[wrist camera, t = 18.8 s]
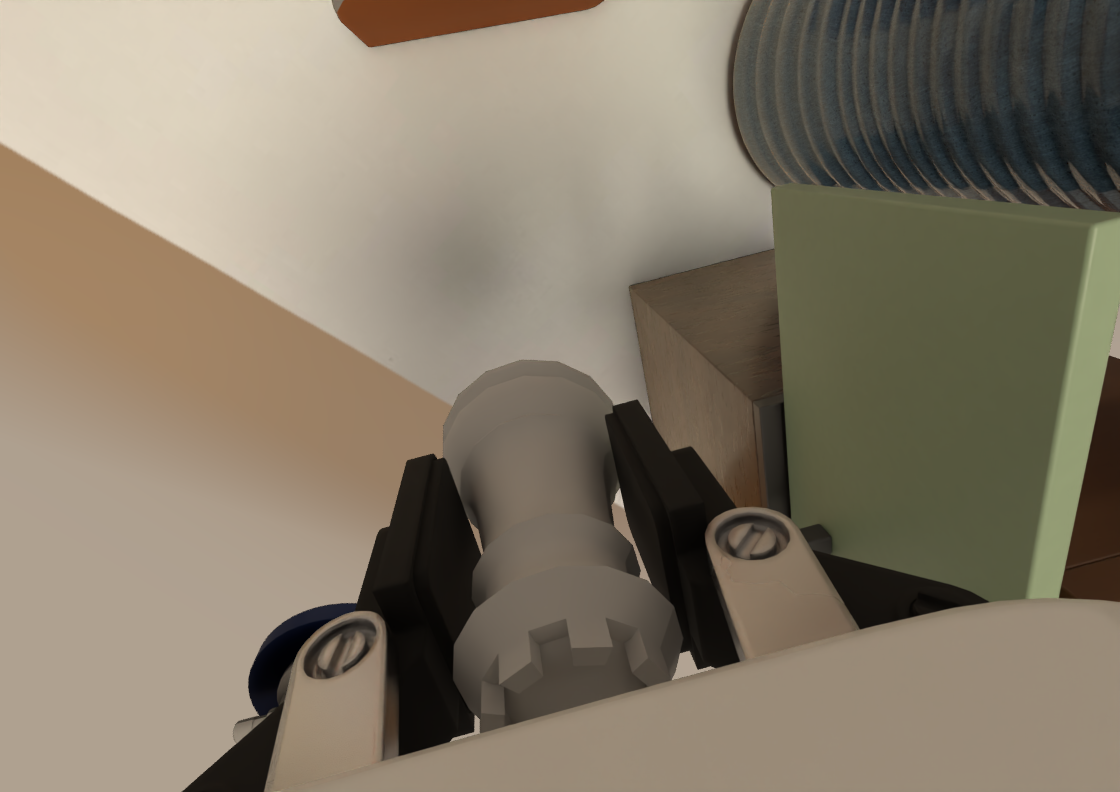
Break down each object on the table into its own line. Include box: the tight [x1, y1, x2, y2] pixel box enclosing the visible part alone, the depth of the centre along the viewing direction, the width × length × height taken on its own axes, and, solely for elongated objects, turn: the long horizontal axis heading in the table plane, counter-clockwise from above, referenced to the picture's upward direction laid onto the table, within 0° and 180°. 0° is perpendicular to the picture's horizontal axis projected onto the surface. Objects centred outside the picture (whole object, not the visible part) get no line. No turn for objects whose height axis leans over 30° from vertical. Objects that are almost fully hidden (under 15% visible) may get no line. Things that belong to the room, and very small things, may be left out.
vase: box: [733, 0, 1120, 213], centre depth 21 cm, size 16×16×32 cm
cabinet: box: [629, 249, 1120, 602], centre depth 28 cm, size 11×14×31 cm
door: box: [771, 183, 1120, 602], centre depth 15 cm, size 5×14×10 cm, turn 13°
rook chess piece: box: [443, 360, 683, 733], centre depth 11 cm, size 4×4×8 cm
